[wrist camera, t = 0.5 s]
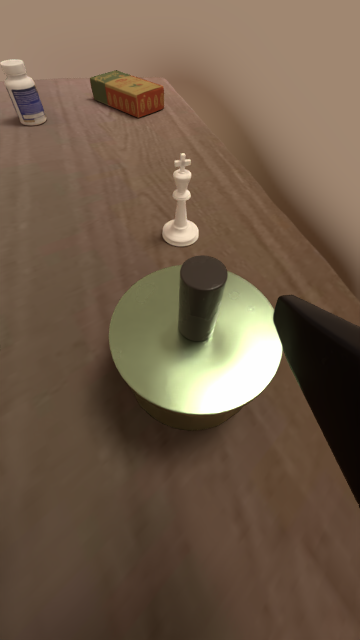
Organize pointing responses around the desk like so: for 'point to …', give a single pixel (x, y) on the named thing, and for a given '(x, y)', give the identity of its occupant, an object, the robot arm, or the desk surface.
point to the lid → (195, 339)
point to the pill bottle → (23, 93)
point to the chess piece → (181, 209)
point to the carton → (128, 93)
